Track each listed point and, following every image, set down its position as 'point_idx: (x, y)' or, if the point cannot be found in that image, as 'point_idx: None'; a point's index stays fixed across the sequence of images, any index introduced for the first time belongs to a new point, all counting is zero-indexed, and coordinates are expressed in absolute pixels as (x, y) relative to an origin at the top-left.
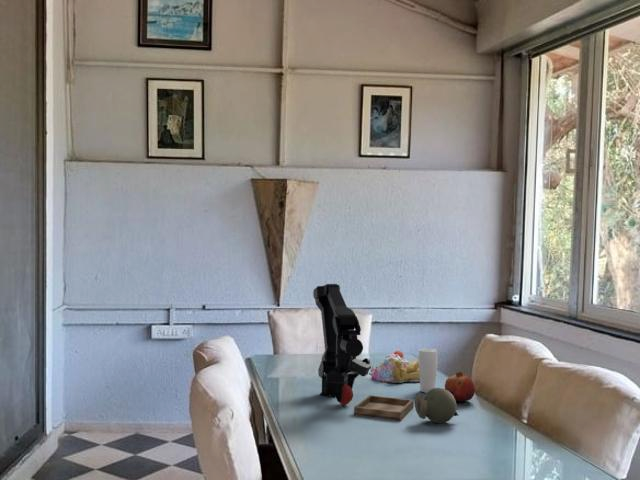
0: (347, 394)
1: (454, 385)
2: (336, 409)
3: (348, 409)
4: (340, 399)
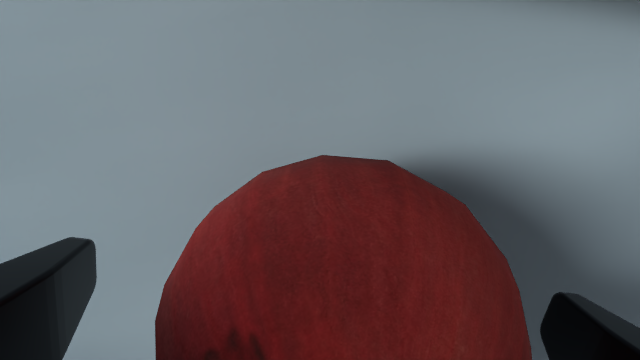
0: (507, 276)
1: None
2: (521, 274)
3: (503, 136)
4: (614, 320)
